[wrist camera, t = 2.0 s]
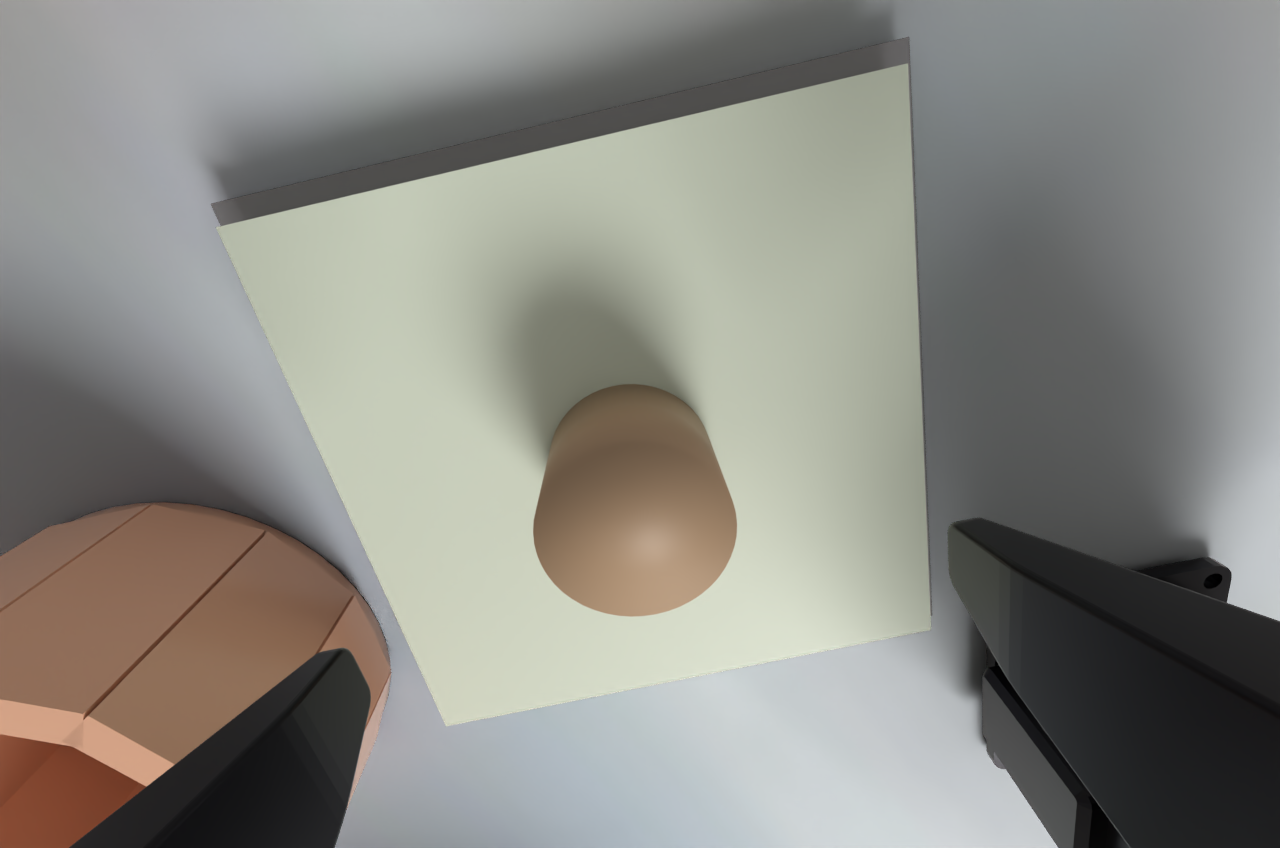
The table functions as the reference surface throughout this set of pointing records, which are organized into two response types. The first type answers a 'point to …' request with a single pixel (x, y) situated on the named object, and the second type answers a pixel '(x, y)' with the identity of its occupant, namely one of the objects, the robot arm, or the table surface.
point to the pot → (152, 652)
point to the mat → (583, 130)
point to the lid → (623, 395)
